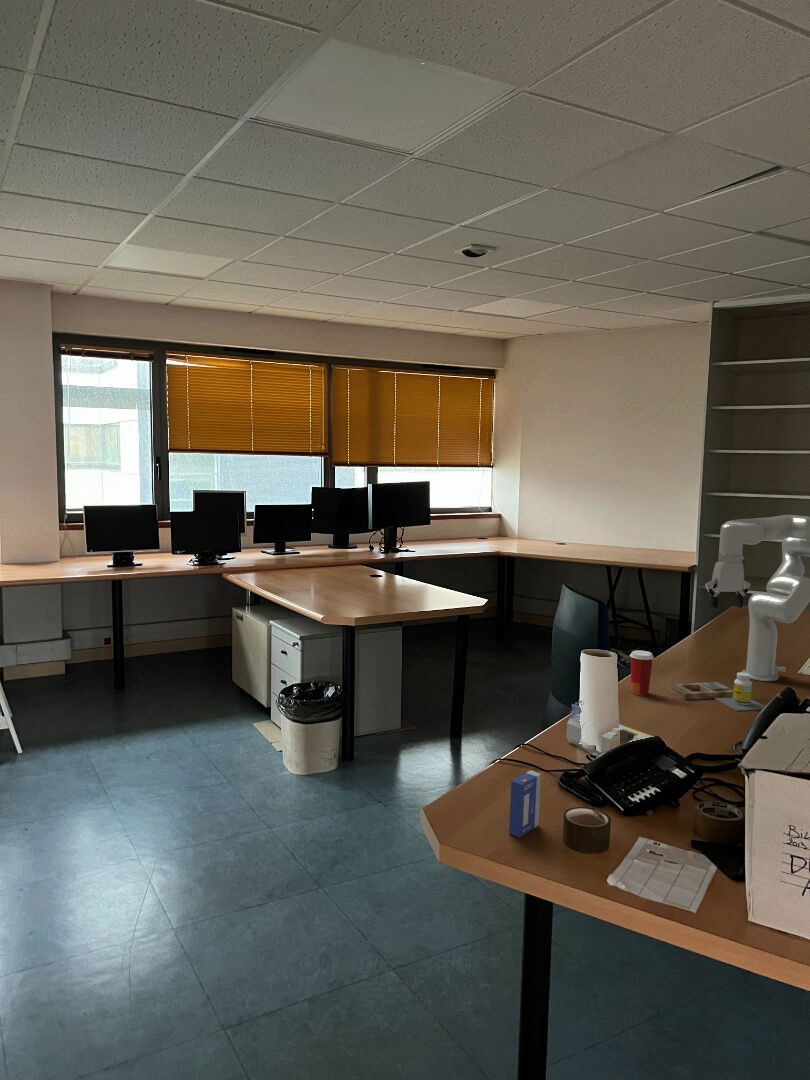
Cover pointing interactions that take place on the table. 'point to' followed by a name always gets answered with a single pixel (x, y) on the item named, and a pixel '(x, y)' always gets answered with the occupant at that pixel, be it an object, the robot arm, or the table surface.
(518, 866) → the table surface
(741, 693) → the supplement bottle
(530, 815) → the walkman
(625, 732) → the diorama
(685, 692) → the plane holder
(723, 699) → the rubber mat
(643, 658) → the paper cup
